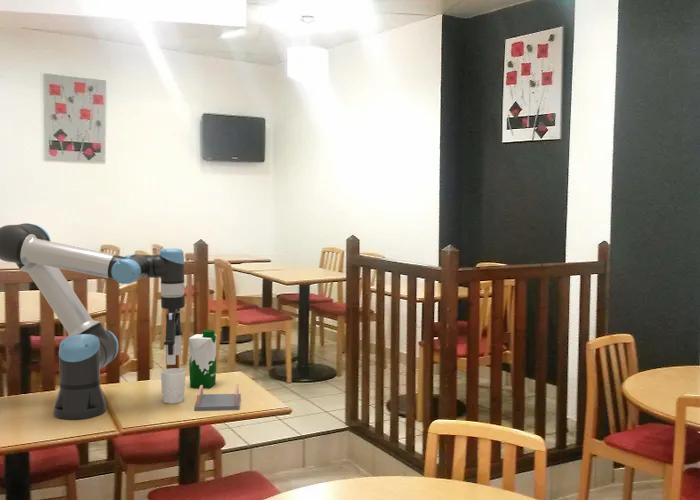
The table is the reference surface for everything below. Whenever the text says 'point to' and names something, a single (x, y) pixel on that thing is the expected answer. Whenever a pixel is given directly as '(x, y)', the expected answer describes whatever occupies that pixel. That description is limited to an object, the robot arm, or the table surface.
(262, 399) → the table surface
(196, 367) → the milk carton
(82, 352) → the robot arm
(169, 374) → the white cup
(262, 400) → the table surface
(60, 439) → the table surface
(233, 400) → the end holder
